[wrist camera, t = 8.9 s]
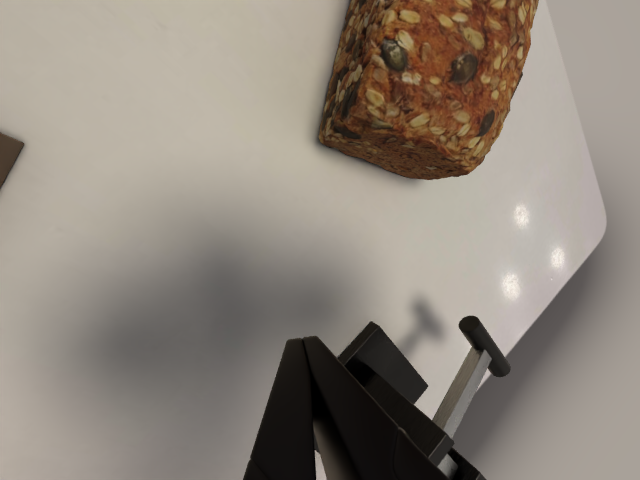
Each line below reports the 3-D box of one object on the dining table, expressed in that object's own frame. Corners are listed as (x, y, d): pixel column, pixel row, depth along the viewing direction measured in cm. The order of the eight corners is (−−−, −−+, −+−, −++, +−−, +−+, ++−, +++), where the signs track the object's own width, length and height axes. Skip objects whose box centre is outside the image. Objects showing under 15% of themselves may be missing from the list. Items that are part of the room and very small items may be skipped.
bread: (364, -87, 23) (471, -289, 14) (465, -11, 27) (601, -131, 18) (303, 145, 23) (374, 94, 13) (415, 189, 27) (531, 172, 17)
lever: (458, 312, 23) (489, 318, 20) (488, 356, 24) (521, 365, 22) (373, 455, 18) (402, 480, 16) (416, 498, 20) (448, 526, 17)
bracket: (371, 321, 26) (465, 375, 17) (419, 379, 28) (525, 455, 19) (284, 415, 23) (337, 539, 14) (344, 471, 26) (423, 609, 17)
